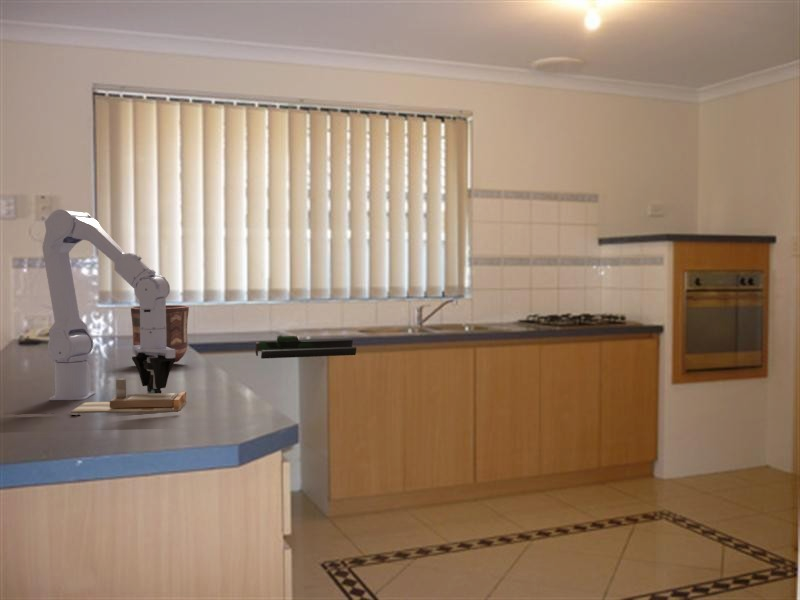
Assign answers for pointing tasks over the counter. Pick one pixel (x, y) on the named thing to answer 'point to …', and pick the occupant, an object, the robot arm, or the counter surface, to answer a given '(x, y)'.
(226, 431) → the counter surface
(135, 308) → the pottery
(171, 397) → the carriage
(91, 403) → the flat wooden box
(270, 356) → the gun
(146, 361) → the push button
